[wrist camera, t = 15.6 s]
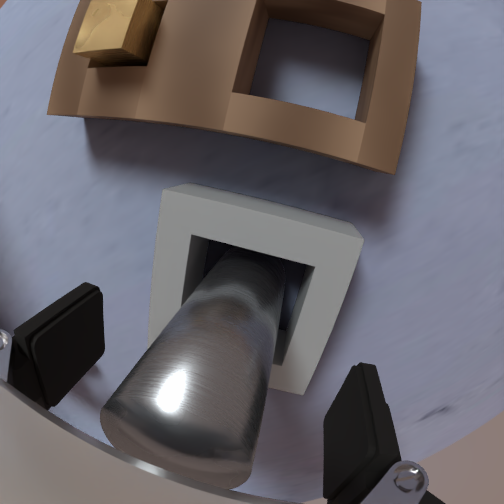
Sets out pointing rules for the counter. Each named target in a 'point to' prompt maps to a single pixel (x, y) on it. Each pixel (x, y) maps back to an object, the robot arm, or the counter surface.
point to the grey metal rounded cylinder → (205, 376)
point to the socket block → (242, 72)
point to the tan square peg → (119, 32)
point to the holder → (265, 241)
